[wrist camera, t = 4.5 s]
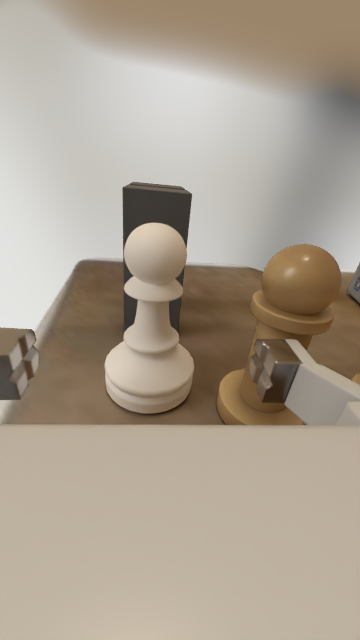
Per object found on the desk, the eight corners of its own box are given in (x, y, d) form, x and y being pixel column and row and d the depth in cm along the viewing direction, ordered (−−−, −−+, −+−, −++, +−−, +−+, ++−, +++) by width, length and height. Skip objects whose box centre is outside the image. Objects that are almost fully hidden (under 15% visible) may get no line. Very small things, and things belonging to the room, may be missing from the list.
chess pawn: (190, 420, 14) (219, 242, 9) (92, 410, 14) (76, 227, 9) (192, 360, 18) (212, 220, 14) (118, 352, 18) (114, 210, 14)
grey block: (124, 335, 20) (122, 186, 15) (128, 316, 23) (127, 184, 18) (177, 337, 20) (192, 193, 16) (175, 318, 23) (187, 190, 18)
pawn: (226, 447, 13) (277, 258, 8) (209, 379, 17) (238, 229, 12) (318, 446, 13) (412, 267, 9) (280, 381, 17) (332, 236, 13)
